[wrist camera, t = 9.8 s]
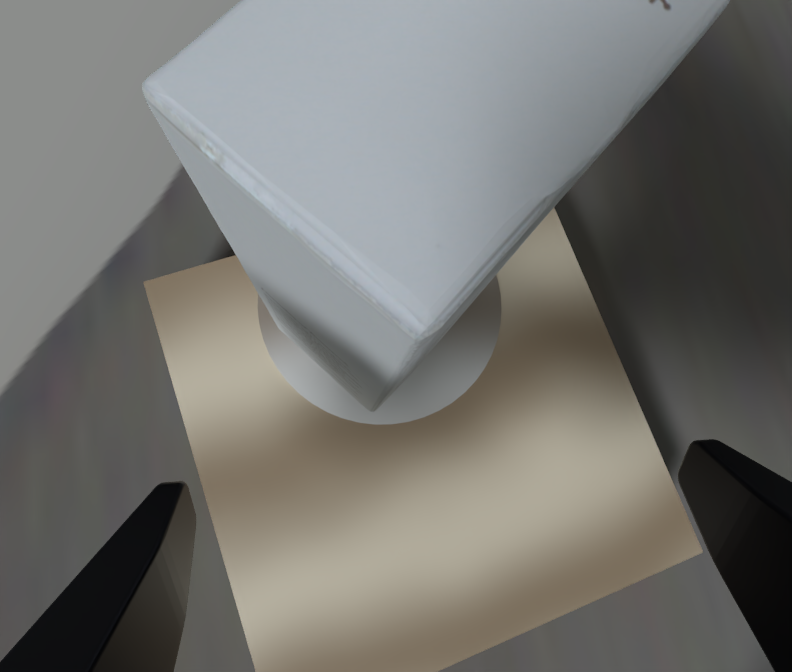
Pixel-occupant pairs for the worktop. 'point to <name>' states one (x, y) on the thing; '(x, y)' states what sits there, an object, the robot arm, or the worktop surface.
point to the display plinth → (420, 471)
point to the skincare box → (402, 149)
